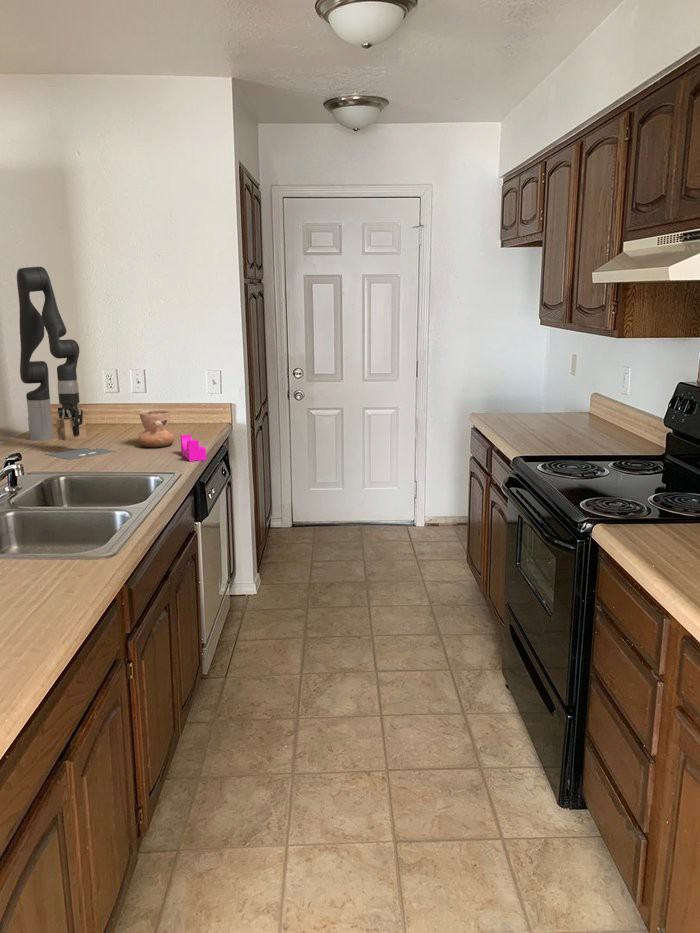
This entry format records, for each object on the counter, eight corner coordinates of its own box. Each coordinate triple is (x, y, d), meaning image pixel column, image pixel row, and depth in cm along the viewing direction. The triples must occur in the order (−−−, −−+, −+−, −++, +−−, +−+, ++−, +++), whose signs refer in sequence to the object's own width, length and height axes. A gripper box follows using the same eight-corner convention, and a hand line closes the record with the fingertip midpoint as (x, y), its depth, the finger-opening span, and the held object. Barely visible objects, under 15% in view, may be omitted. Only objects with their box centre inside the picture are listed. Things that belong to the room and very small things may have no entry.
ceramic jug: (178, 448, 298) (176, 413, 295) (141, 451, 293) (139, 415, 290) (170, 441, 314) (168, 407, 311) (135, 443, 309) (133, 409, 306)
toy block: (206, 459, 276) (205, 440, 275) (189, 461, 274) (188, 441, 272) (197, 453, 290) (196, 434, 288) (181, 454, 287) (180, 435, 285)
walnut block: (58, 439, 289) (56, 419, 288) (78, 436, 296) (76, 416, 295) (65, 440, 286) (64, 420, 284) (86, 437, 293) (84, 417, 291)
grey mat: (44, 454, 287) (44, 454, 287) (90, 446, 302) (90, 446, 302) (69, 459, 277) (69, 459, 277) (115, 451, 292) (115, 451, 292)
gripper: (49, 391, 289) (53, 434, 292) (70, 393, 280) (73, 437, 284) (66, 389, 294) (70, 431, 298) (87, 391, 286) (91, 435, 289)
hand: (72, 434), depth 291 cm, fingers closed on walnut block, 5 cm apart
